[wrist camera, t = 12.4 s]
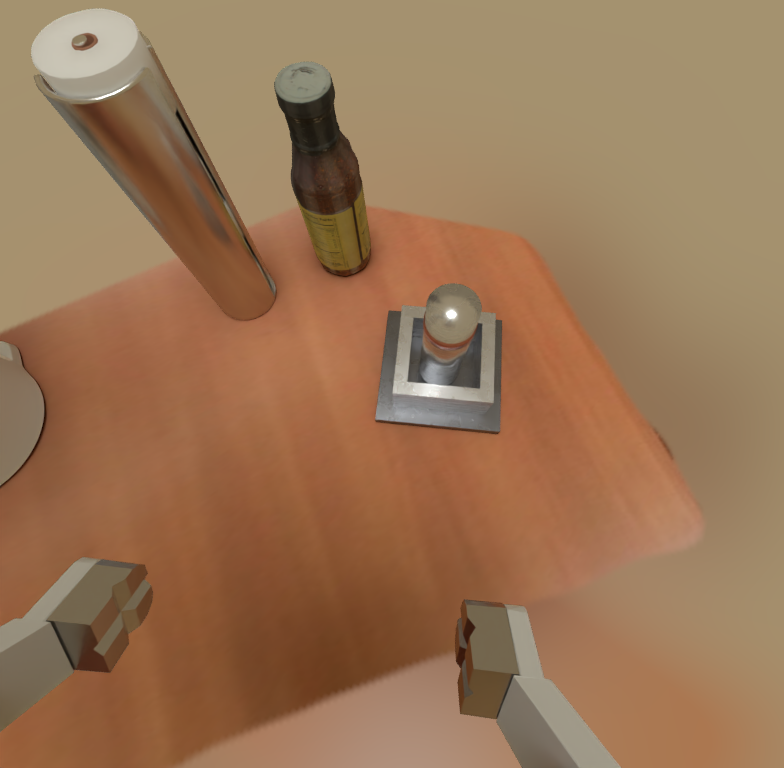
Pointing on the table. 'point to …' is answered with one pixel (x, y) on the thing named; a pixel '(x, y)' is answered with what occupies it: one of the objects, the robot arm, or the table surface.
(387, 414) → the collar
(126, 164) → the silver piece
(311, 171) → the sauce bottle
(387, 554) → the table surface
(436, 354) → the cylinder
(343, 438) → the table surface
